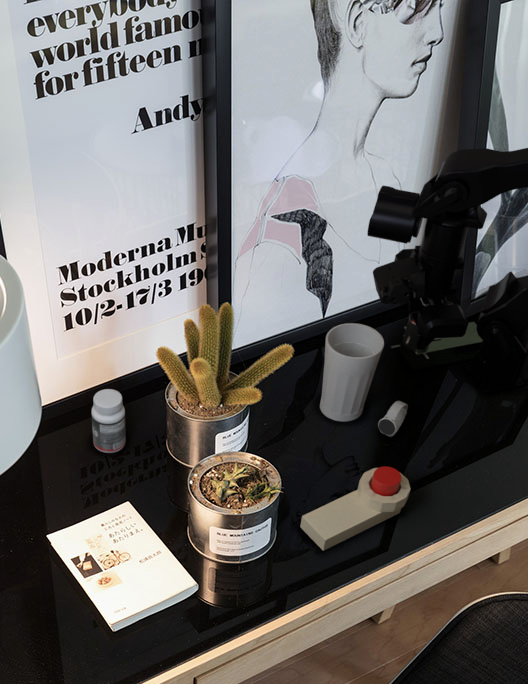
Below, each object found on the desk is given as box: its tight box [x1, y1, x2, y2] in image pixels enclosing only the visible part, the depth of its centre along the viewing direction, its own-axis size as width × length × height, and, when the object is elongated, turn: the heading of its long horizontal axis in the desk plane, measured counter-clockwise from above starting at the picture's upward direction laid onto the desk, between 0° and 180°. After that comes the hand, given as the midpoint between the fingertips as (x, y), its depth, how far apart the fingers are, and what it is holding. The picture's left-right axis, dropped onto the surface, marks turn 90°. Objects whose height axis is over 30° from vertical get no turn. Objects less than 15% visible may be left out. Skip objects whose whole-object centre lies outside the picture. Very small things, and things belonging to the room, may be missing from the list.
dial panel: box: [390, 321, 483, 371], centre depth 147 cm, size 15×8×3 cm, turn 105°
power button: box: [371, 466, 402, 496], centre depth 125 cm, size 4×4×2 cm
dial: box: [403, 310, 430, 351], centre depth 143 cm, size 4×4×5 cm
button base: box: [299, 467, 411, 552], centre depth 125 cm, size 15×6×4 cm, turn 121°
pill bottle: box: [90, 388, 127, 454], centre depth 134 cm, size 5×5×8 cm
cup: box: [319, 322, 385, 422], centre depth 136 cm, size 8×8×12 cm
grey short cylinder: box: [377, 400, 409, 438], centre depth 135 cm, size 3×5×5 cm, turn 143°
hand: (416, 340), depth 145 cm, fingers closed on dial, 4 cm apart
